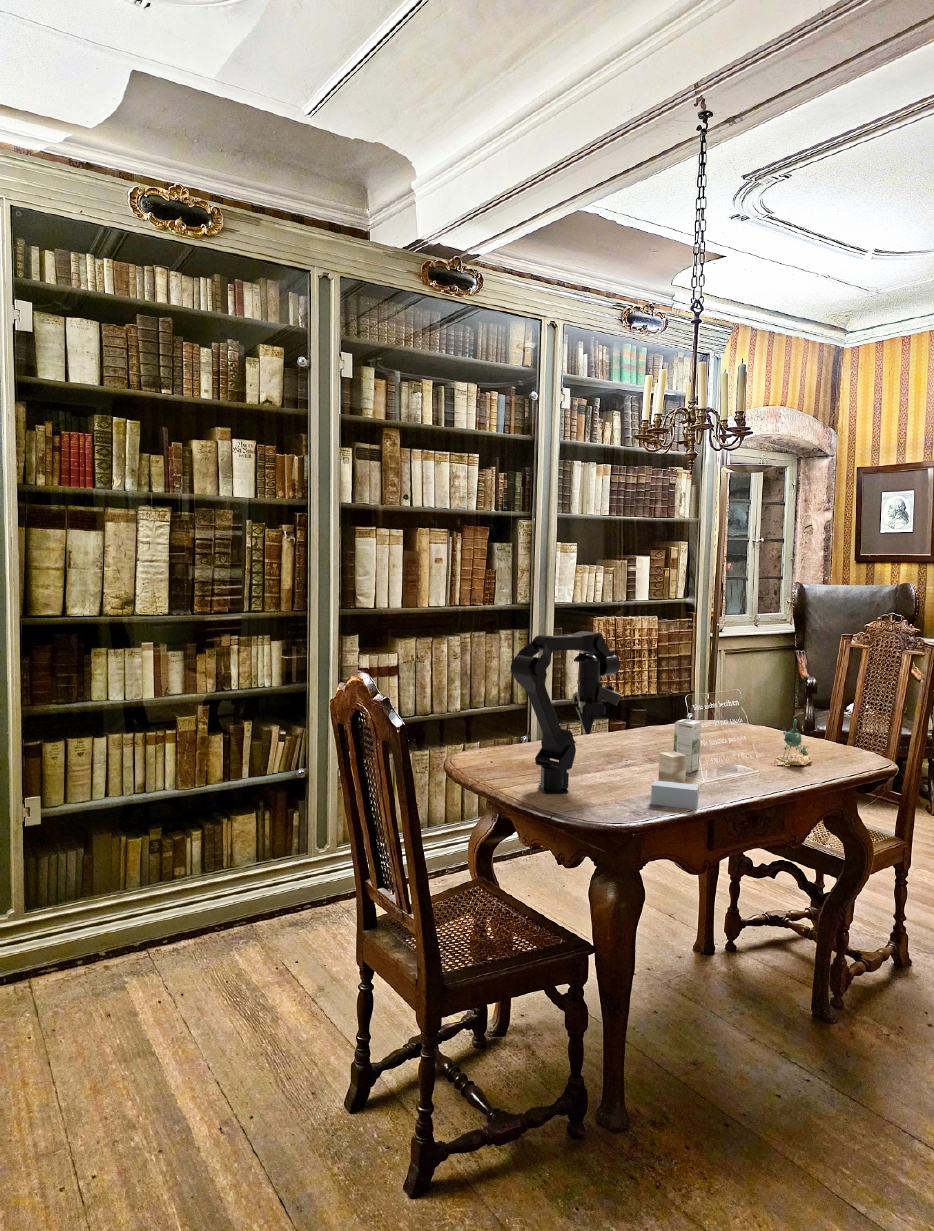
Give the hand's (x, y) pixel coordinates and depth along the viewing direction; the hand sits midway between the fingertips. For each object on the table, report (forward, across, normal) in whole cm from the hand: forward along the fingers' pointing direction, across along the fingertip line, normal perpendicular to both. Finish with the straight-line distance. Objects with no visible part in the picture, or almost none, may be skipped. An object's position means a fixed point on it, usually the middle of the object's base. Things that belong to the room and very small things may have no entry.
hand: (587, 734), depth 222 cm
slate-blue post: (+11, -18, -14) cm, 25 cm away
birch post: (+13, -5, -22) cm, 26 cm away
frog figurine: (+14, +24, -68) cm, 73 cm away
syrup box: (+14, +13, -31) cm, 37 cm away
